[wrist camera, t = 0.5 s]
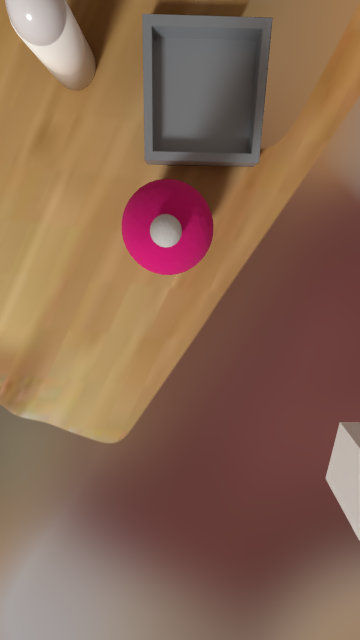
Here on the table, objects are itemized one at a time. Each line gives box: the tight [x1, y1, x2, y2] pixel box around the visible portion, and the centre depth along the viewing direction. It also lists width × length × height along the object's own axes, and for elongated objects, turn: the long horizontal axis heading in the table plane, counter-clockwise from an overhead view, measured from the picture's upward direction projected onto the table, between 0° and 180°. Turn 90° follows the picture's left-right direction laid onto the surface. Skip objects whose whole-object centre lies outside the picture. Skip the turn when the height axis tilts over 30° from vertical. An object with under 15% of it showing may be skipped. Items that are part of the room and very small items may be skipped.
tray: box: [142, 14, 272, 167], centre depth 30 cm, size 12×12×2 cm
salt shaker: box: [5, 0, 96, 90], centre depth 25 cm, size 4×4×10 cm
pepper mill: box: [122, 179, 213, 275], centre depth 25 cm, size 7×7×20 cm
